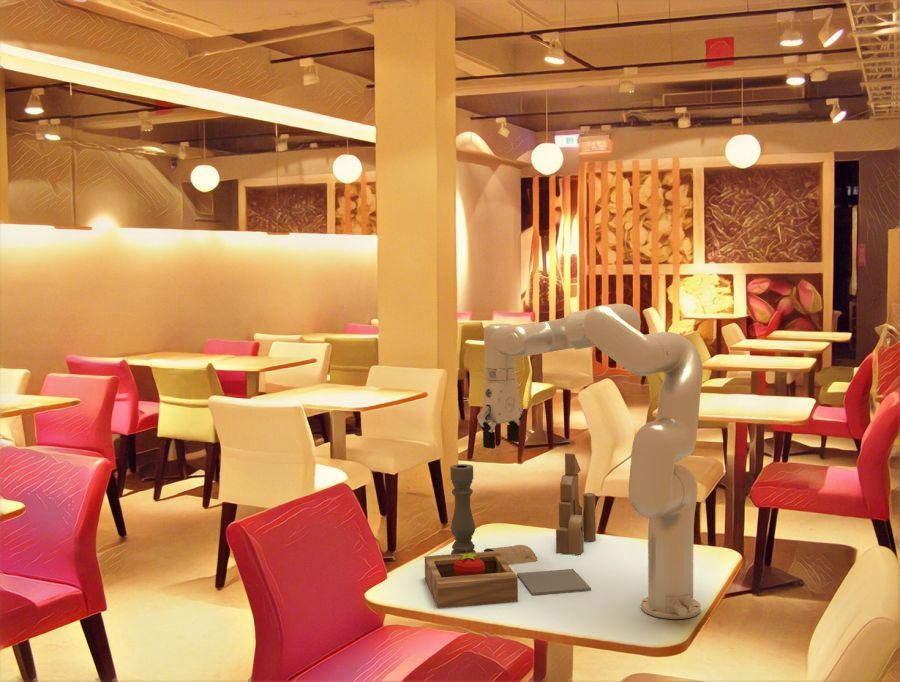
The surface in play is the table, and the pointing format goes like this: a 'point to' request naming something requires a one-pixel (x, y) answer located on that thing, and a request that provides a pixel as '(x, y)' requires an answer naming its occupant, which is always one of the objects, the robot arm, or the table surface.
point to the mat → (553, 582)
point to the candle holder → (462, 509)
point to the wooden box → (471, 581)
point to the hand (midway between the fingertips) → (501, 444)
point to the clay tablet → (516, 554)
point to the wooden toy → (574, 512)
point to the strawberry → (469, 565)
